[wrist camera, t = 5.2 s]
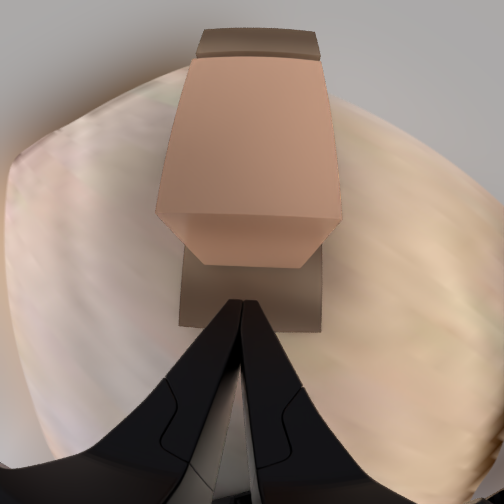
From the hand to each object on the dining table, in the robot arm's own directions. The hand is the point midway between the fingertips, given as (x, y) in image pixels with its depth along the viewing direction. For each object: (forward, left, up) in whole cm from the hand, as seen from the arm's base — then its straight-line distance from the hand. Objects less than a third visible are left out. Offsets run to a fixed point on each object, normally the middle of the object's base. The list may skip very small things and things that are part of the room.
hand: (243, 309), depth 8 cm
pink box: (+6, -3, -9) cm, 11 cm away
